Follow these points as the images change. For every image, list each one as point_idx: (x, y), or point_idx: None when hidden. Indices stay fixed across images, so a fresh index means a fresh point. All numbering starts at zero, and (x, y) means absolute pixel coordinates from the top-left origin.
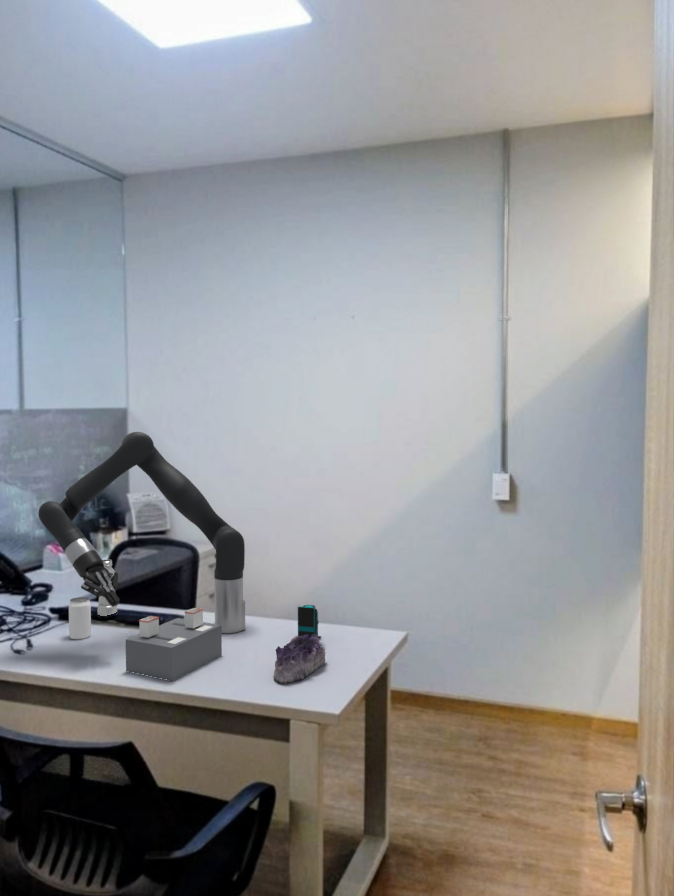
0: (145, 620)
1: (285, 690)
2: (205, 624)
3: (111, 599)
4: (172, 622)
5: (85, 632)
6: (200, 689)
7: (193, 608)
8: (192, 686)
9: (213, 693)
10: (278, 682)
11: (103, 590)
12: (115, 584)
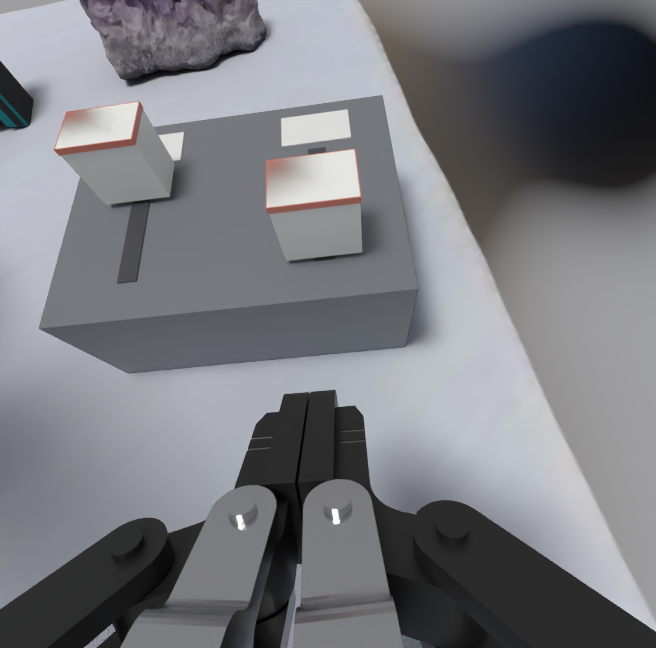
0: (349, 167)
1: (289, 16)
2: None
3: (358, 428)
4: (113, 297)
5: None
6: None
7: (70, 142)
8: None
9: (379, 84)
10: (263, 37)
11: (428, 519)
12: (98, 576)
